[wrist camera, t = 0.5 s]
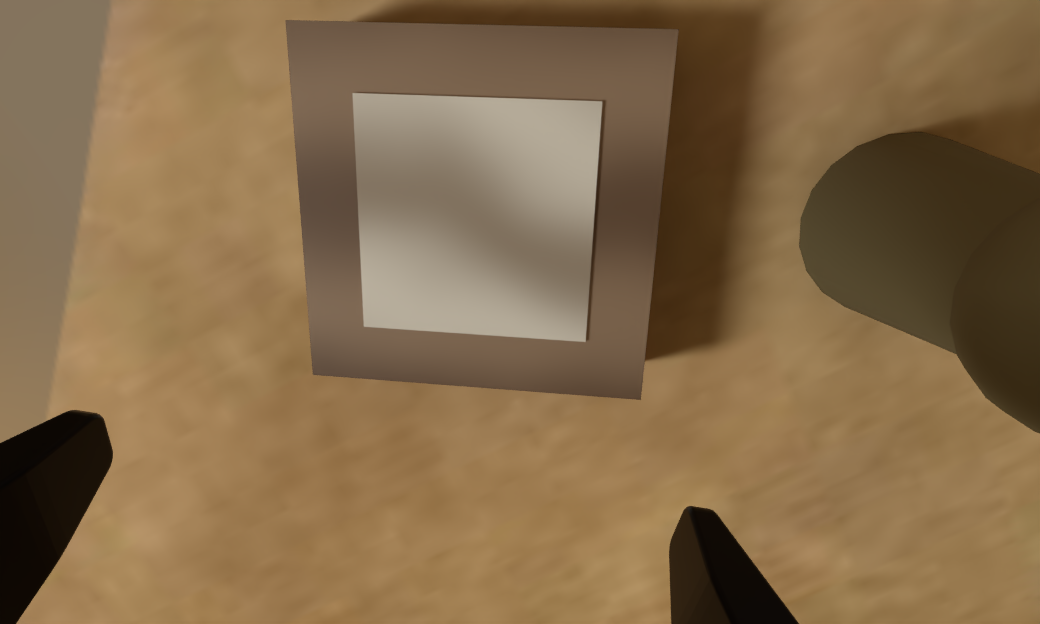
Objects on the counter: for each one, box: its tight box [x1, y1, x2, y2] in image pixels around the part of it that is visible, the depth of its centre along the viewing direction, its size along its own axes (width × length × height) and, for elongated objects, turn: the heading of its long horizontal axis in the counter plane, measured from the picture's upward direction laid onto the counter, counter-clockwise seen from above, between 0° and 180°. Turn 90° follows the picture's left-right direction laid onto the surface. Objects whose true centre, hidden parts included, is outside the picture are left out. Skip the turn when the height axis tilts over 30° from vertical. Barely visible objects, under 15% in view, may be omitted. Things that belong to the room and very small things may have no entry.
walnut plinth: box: [286, 20, 679, 400], centre depth 21 cm, size 11×11×3 cm
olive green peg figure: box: [799, 132, 1040, 433], centre depth 16 cm, size 6×6×11 cm
